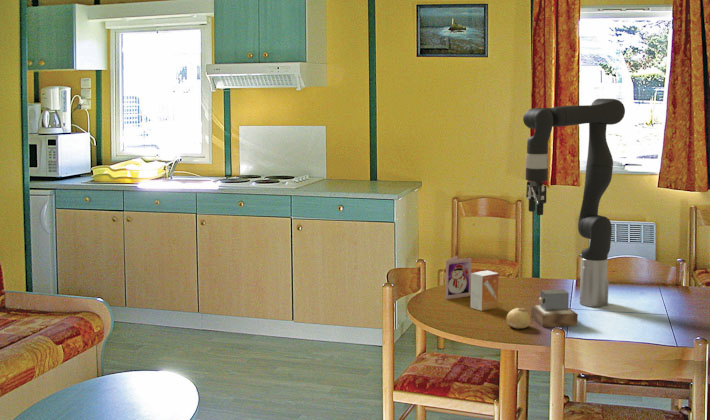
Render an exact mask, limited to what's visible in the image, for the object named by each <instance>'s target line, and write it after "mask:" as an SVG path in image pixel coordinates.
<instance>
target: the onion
mask: <svg viewBox="0 0 710 420" xmlns="http://www.w3.org/2000/svg"><path fill="white" fill-rule="evenodd" d="M531 318H532V317H531V314H530V313H529V312H528V311H527V310H526V306H525V307H523V308H521V307H520V308H519V307H515V308H513V309H511V310H510V311H509V312H508V313H507V314H506V319H505V321H506V323H507V324H508V326H509V327H510V328H514V329H518V330H519V329H526V328H527V327H529V326H530V325H531V320H532V319H531Z"/></svg>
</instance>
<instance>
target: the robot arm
mask: <svg viewBox="0 0 710 420" xmlns="http://www.w3.org/2000/svg"><path fill="white" fill-rule="evenodd" d="M625 113H626V108H625V105H624V104H623V102H622V101H620V100H619V99H615V98H596V99H595V100H593V102H591V104H589V105H587V104H586V105H579V104H578V105H576V104H575V105H562V106H561V105H560V106H554V107H538V108H537V107H535V108H530V109H528V110H526V112H525V113H524V114H523V117H522V118H523V119H522V121H523V124H524V126H525V127H527V128H528V129H532V130H534V134H533V135H532V136H530V137H528V139H527V143H526V158H525V180H526V193H525V195H526V196H525V197H526V199H527V200H528V209H527V210H528V211H529V212H531V213H532V212H535V211H536V213H535V214H536V215H537V216H543V215H544V205H545V204H546V203H547V185H544V184H543V182H547V181H548V179H549V177H548V176H549V156H548V152H549V140H550V137H551V132H552V129H553V128H562V127H571V126H576V125H582V124H583V125H584V124H588V148H587V157H586V164H585V165H586V166H585V177H584V178H585V179H584V188H583V193H582V194H583V196H582V202H581V206H580V210H579V211H580V212H579V217H578V221H577V231H578V234H579V235H580V236H581V237H582V238H585V239H589V245H588V247H587V248H583V249H582V250H581V255H580V256H581V257H580V258H581V260H580V280H579V281H580V283H579V284H580V285H579V287H580V289H579V304H580V305H583V306H586V307H594V308H597V307H599V308H600V307H604V306H608V305H609V284H610V283H609V279H608V278H607V277H608V256H609V253H610V250H611V244H612V243H611V242H612V233H613V231H612V228H613V227H612V226H613V225H612V222H611V220H610V219H609V218H608V217H606V216H603V215H599V205H600V202H601V198H602V196H603V195H604V193H605V192H606V190H607V189H608V187H609V186H610V183H611V181H612V178H613V169H614V168H613V167H614V160H613V156H612V152H611V150H610V147H609V145H608V142H607V126H608V125H609V126H610V125H612V126H613V125H616V124H619V123H620V122H621V121H622V120H623V119H624V117H625Z"/></svg>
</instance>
